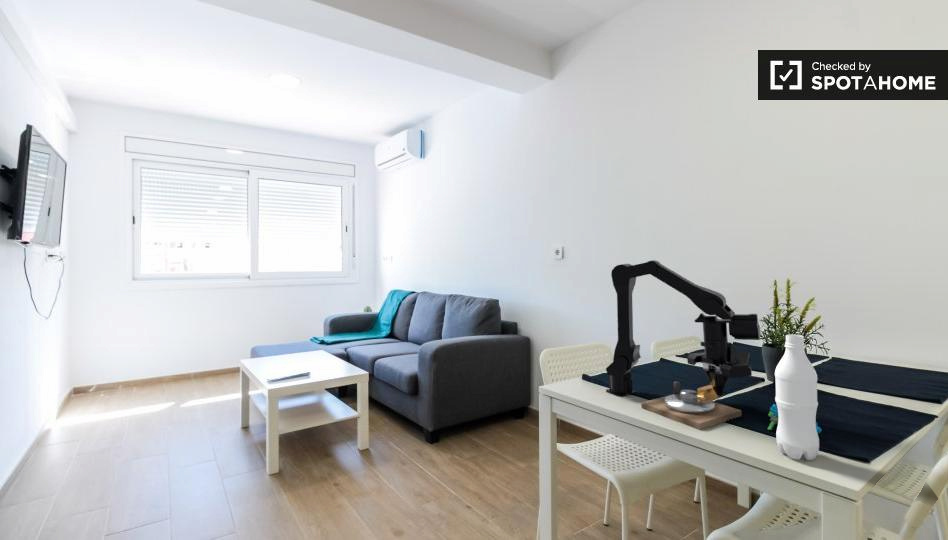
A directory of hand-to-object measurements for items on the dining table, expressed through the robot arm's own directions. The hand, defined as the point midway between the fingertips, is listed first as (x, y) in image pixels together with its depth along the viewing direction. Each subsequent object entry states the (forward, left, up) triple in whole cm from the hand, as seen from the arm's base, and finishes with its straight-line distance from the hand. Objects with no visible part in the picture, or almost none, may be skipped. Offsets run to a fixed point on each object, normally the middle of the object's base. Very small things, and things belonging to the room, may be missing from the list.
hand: (719, 395), depth 120 cm
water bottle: (+26, -12, -3) cm, 29 cm away
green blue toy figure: (+20, -3, -4) cm, 20 cm away
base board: (-2, -9, -3) cm, 10 cm away
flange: (-2, -7, -2) cm, 7 cm away
